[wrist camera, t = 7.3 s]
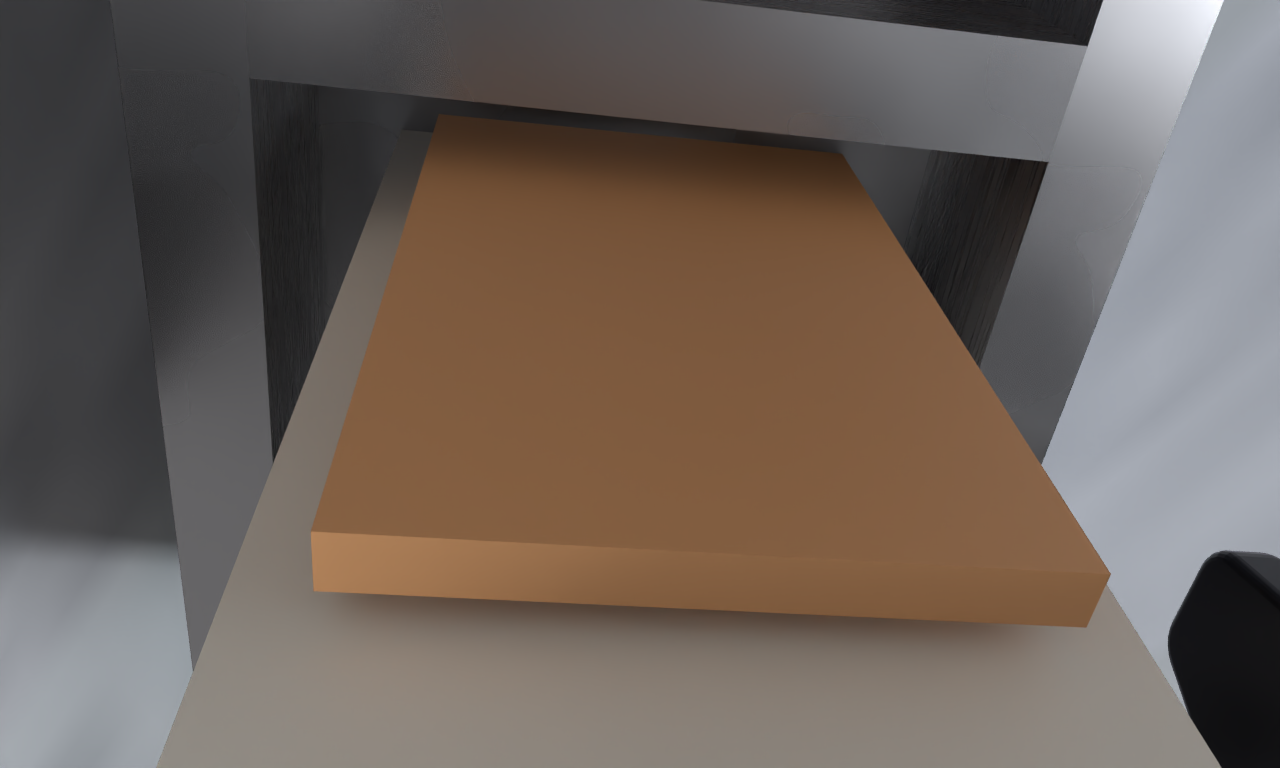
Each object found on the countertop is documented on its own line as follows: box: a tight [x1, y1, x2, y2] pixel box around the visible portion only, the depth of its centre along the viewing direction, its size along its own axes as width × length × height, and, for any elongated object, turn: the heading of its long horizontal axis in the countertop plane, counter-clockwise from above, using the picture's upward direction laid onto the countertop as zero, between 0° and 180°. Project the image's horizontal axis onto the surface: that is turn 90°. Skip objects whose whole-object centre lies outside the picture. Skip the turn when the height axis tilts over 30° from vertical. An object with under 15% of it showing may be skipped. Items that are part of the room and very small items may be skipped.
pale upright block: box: [156, 114, 1221, 768], centre depth 8 cm, size 4×4×7 cm
